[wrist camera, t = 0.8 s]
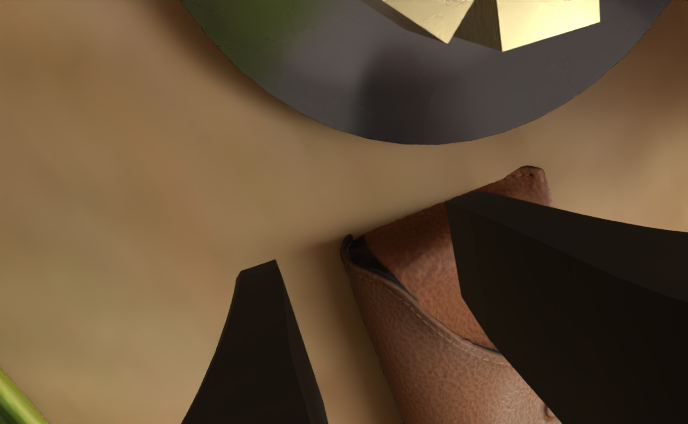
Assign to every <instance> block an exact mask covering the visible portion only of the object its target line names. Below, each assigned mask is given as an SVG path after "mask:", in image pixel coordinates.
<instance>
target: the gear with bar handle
mask: <svg viewBox="0 0 688 424" xmlns="http://www.w3.org/2000/svg"><path fill="white" fill-rule="evenodd" d="M361 1H362V2H364V3H365V4H367V5H368V6H370V7H371V8H373V9H374V10H376V11H377V12H379V13H380V14H382V15H383V16H385V17H386V18H388V19H390V20H391V21H393V22H394V23H396V24H397V25H399V26H400V27H402V28H403V29H405V30H407V31H410V32H413V33H416V34H419V35H422V36H425V37H428V38H431V39H434V40H437V41H440V42H443V43H446V44H448V42H449V41H450V39H451V37H452V36H453V37H456V38H459V39H463V40H466V41H469V42H472V43H476V44H479V45H482V46H485V47H489V48H492V49H495V50H498V51H502V52H503V51H507V50H510V49H513V48H516V47H520V46H523V45H526V44H529V43H533V42H536V41H539V40H542V39H546V38H549V37H552V36H555V35H559V34H562V33H565V32H568V31H572V30H575V29H578V28H581V27H585V26H588V25H591V24H594V23H598V22H600V12H599V0H361Z"/></svg>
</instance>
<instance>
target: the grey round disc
mask: <svg viewBox="0 0 688 424" xmlns="http://www.w3.org/2000/svg"><path fill="white" fill-rule="evenodd" d="M181 1H182V2H183V4H184V5H185V7H186V8H187V9H188V11H189V12H190V13H191V15H192V16H193V18H194V19H195V20H196V22H197V23H198V24H199V26H200V27H201V29H202V30H203V31H204V33H205V34H206V35H207V36H208V37H209V38H210V39H211V40H212V41H213V43H214V44H215V45H216V46H217V47H218V48H219V49H220V50H221V51H222V52H223V53H224V54H225V55H226V56H227V58H228V59H229V60H230V61H231V62H232V63H233V64H234V65H235V66H236V67H237V68H238V69H240V70H241V71H242V72H243V73H244V74H246V75H247V76H248V77H249V78H251V79H252V80H253V81H254V82H255V83H257V84H258V85H259V86H260V87H261V88H263V89H264V90H265V91H266V92H267V93H269V94H271V95H272V96H274V97H275V98H277V99H279V100H280V101H282V102H283V103H285V104H287V105H288V106H290V107H291V108H293V109H295V110H296V111H298V112H299V113H301V114H303V115H305V116H308V117H310V118H312V119H314V120H316V121H319V122H321V123H323V124H325V125H327V126H330V127H332V128H334V129H337V130H340V131H344V132H347V133H350V134H354V135H357V136H361V137H364V138H367V139H372V140H379V141H385V142H392V143H398V144H420V145H440V144H448V143H456V142H464V141H472V140H476V139H479V138H483V137H487V136H491V135H495V134H499V133H503V132H506V131H508V130H511V129H513V128H516V127H518V126H521V125H523V124H526V123H528V122H531V121H533V120H536V119H537V118H539V117H541V116H543V115H545V114H547V113H548V112H550V111H552V110H554V109H556V108H558V107H559V106H561V105H563V104H565V103H567V102H568V101H569V100H571V99H572V98H574V97H575V96H576V95H578V94H579V93H581V92H582V91H584V90H585V89H586V88H588V87H589V86H591V85H592V84H593V83H595V82H596V81H597V80H598V79H599V78H601V77H602V76H603V75H604V74H605V73H606V72H607V71H609V70H610V69H611V68H612V67H613V66H614V65H615V64H616V63H618V62H619V61H620V60H621V59H622V58H623V57H624V56H625V55H626V54H627V53H628V52H629V50H630V49H631V48H632V47H633V46H634V45H635V44H636V43H637V42H638V41H639V40H640V39H641V37H642V36H643V35H644V34H645V33H646V32H647V31H648V30H649V28H650V27H651V26H652V24H653V23H654V22H655V20H656V19H657V18H658V16H659V15H660V14H661V12H662V11H663V10H664V8H665V7H666V6H667V4H668V3H669V2H670V0H599V12H600V22H598V23H594V24H591V25H588V26H585V27H581V28H578V29H575V30H572V31H568V32H565V33H562V34H559V35H555V36H552V37H549V38H546V39H542V40H539V41H536V42H533V43H529V44H526V45H523V46H520V47H516V48H513V49H510V50H507V51H503V52H502V51H498V50H495V49H492V48H489V47H485V46H482V45H479V44H476V43H472V42H469V41H466V40H463V39H459V38H456V37H453V36H452V37H451V39H450V41H449V42H448V44H446V43H443V42H440V41H437V40H434V39H431V38H428V37H425V36H422V35H419V34H416V33H413V32H410V31H407V30H405V29H403V28H402V27H400V26H399V25H397V24H396V23H394V22H393V21H391V20H390V19H388V18H386V17H385V16H383V15H382V14H380V13H379V12H377V11H376V10H374V9H373V8H371V7H370V6H368V5H367V4H365V3H364V2H362V1H361V0H181Z"/></svg>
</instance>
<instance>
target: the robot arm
mask: <svg viewBox="0 0 688 424" xmlns="http://www.w3.org/2000/svg"><path fill="white" fill-rule="evenodd" d="M445 205H446V211H447V217H448V222H449V228H450V234H451V240H452V245H453V251H454V257H455V263H456V268H457V274H458V280H459V285H460V291H461V297H462V298H463V300H464V302H465V303H466V305H467V306H468V308H469V310H470V311H471V313H472V314H473V316H474V317H475V319H476V321H477V322H478V324H479V325H480V327H481V328H482V330H483V331H484V333H485V334H486V336H487V337H488V339H489V340H490V341H491V342H492V343H493V345H494V346H495V347H496V348H497V349H498V351H499V352H500V353H501V354H502V355H503V356H504V358H505V359H506V360H507V361H508V362H509V363H510V365H511V366H512V367H513V368H514V369H515V370H516V372H517V373H518V374H519V375H520V376H521V377H522V378H523V380H524V381H525V382H526V383H527V384H528V385H529V386H530V388H531V389H532V390H533V391H534V392H535V393H536V394H537V396H538V397H539V398H540V399H541V400H542V401H543V402H544V404H545V405H546V406H547V407H548V408H549V409H550V410H551V412H552V413H553V414H554V415H555V416H556V417H557V418H558V420H559V421H560V422H561V423H562V424H688V232H680V231H671V230H663V229H657V228H650V227H644V226H638V225H633V224H627V223H622V222H617V221H611V220H606V219H601V218H596V217H592V216H587V215H582V214H578V213H574V212H569V211H565V210H561V209H557V208H553V207H549V206H544V205H540V204H536V203H532V202H528V201H524V200H520V199H516V198H512V197H508V196H504V195H499V194H495V193H489V192H483V191H474V192H471V193H469V194H466V195H463V196H460V197H457V198H454V199H451V200H448V201H445ZM181 424H328V421H327V416H326V412H325V407H324V403H323V400H322V397H321V394H320V391H319V388H318V385H317V382H316V379H315V375H314V372H313V369H312V366H311V363H310V360H309V357H308V354H307V351H306V348H305V345H304V342H303V339H302V336H301V333H300V330H299V327H298V324H297V321H296V318H295V315H294V312H293V309H292V306H291V303H290V300H289V297H288V294H287V291H286V288H285V284H284V281H283V278H282V275H281V273H280V270H279V267H278V265H277V262H276V259H275V260H272V261H269V262H266V263H263V264H260V265H257V266H254V267H252V268H249V269H246V270H243V271H241V272H240V273H239V275H238V277H237V279H236V284H235V289H234V294H233V298H232V302H231V306H230V309H229V313H228V316H227V320H226V322H225V325H224V328H223V331H222V334H221V337H220V340H219V343H218V346H217V348H216V351H215V354H214V356H213V358H212V361H211V363H210V365H209V368H208V370H207V372H206V375H205V377H204V379H203V381H202V384H201V386H200V388H199V390H198V392H197V394H196V396H195V398H194V400H193V402H192V404H191V406H190V408H189V410H188V412H187V414H186V416H185V418H184V419H183V421H182V423H181Z"/></svg>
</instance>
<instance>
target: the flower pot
mask: <svg viewBox="0 0 688 424" xmlns="http://www.w3.org/2000/svg"><path fill="white" fill-rule="evenodd" d="M0 424H49V423H48V422H47V420H46V419H45V418H44V417H43V416H42V415H41V413H40V412H39V411H38V410H37V409H36V408H35V407H34V406H33V404H32V403H31V402H30V401H29V400H28V399H27V398H26V397H25V395H24V394H23V393H22V392H21V391H20V390H19V389H18V388H17V387H16V385H15V384H14V383H13V382H12V381H11V380H10V379H9V378H8V376H7V375H6V374H5V373H4V372H3V371H2V370H1V369H0Z"/></svg>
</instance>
